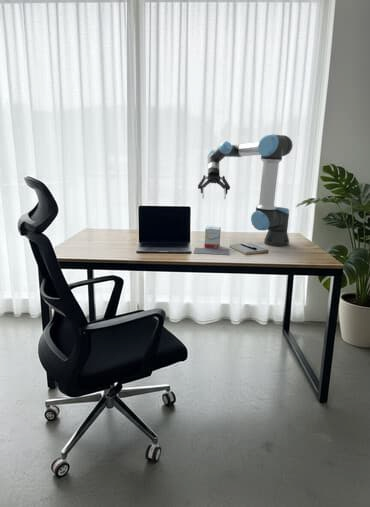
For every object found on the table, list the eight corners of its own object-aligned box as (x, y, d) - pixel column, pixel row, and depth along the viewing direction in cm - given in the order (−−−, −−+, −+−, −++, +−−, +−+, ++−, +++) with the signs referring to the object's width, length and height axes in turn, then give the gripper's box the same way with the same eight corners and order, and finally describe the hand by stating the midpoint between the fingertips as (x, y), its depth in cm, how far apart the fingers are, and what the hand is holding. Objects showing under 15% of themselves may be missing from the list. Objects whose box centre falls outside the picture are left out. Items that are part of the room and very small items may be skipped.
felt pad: (229, 249, 215) (229, 249, 215) (229, 255, 203) (229, 254, 203) (195, 248, 217) (195, 247, 217) (193, 253, 205) (193, 252, 205)
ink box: (218, 249, 216) (219, 229, 213) (204, 248, 217) (204, 228, 214) (220, 245, 224) (221, 226, 221) (206, 244, 225) (206, 225, 222)
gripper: (232, 175, 242) (233, 201, 232) (194, 174, 242) (193, 200, 232) (233, 167, 236) (235, 194, 226) (194, 166, 235) (194, 193, 225)
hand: (214, 197), depth 229 cm, fingers open, 13 cm apart
